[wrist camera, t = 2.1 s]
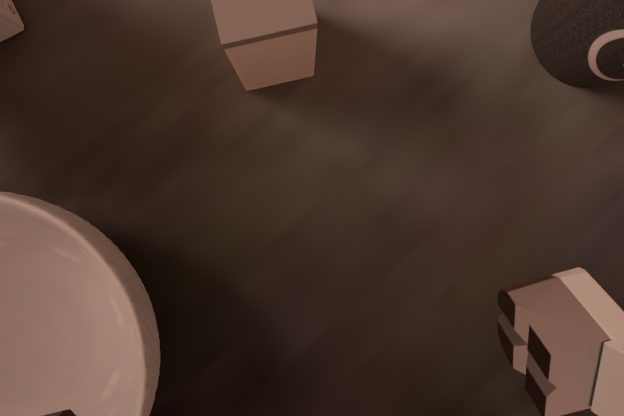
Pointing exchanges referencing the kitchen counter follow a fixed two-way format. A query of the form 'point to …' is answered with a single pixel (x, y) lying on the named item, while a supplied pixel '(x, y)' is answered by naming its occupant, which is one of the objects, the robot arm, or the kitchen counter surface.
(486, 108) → the kitchen counter surface
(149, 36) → the kitchen counter surface
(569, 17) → the coffee cup
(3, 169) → the kitchen counter surface
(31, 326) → the cereal bowl
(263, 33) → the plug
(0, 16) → the skincare box
